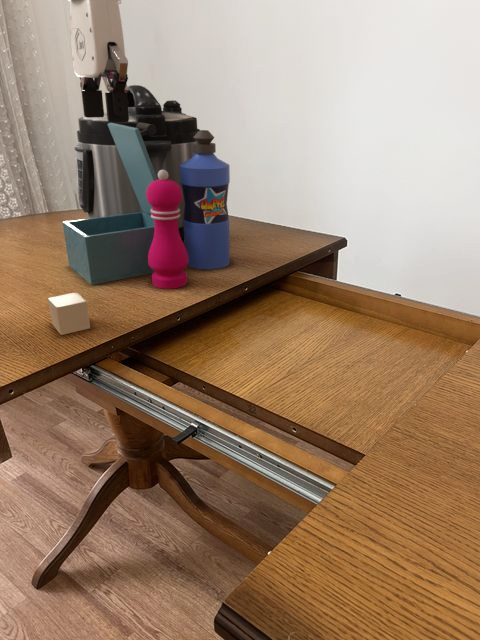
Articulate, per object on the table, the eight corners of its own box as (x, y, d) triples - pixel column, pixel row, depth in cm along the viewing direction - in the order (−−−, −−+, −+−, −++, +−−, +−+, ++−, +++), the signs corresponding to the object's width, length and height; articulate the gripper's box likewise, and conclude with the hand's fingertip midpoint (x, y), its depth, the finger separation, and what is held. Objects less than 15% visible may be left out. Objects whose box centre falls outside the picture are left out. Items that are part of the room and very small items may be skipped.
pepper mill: (195, 278, 102) (191, 167, 93) (180, 292, 96) (173, 174, 87) (160, 274, 104) (152, 165, 94) (142, 287, 97) (132, 171, 88)
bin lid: (134, 130, 92) (161, 118, 94) (107, 124, 101) (132, 113, 103) (169, 223, 102) (193, 210, 104) (141, 210, 111) (164, 199, 113)
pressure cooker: (118, 213, 147) (104, 82, 132) (219, 220, 142) (217, 85, 127) (60, 244, 120) (34, 85, 106) (181, 253, 116) (172, 88, 101)
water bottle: (237, 265, 109) (237, 132, 98) (194, 272, 105) (188, 134, 94) (219, 253, 117) (217, 127, 105) (178, 258, 113) (171, 128, 101)
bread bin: (91, 285, 98) (84, 237, 94) (69, 266, 107) (62, 221, 103) (174, 269, 107) (171, 224, 103) (147, 252, 116) (143, 211, 112)
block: (61, 335, 80) (56, 307, 78) (52, 324, 83) (47, 297, 81) (90, 328, 82) (86, 301, 80) (80, 318, 85) (76, 292, 83)
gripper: (48, -8, 82) (63, 116, 90) (90, -20, 70) (104, 124, 77) (96, -3, 86) (107, 115, 94) (144, -13, 74) (152, 123, 81)
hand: (106, 119), depth 85 cm, fingers open, 9 cm apart
